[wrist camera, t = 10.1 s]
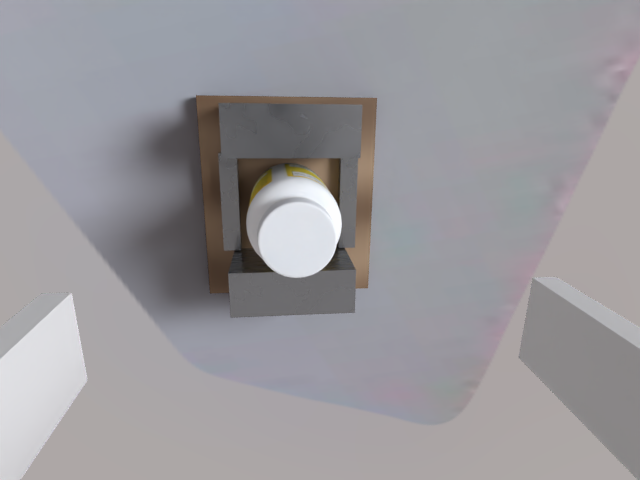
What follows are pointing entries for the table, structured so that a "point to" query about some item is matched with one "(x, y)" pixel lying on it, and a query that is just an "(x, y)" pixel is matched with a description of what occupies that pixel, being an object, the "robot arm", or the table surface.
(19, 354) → the robot arm
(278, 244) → the supplement bottle
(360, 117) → the grey rectangular frame
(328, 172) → the mount board
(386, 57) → the table surface
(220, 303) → the table surface
